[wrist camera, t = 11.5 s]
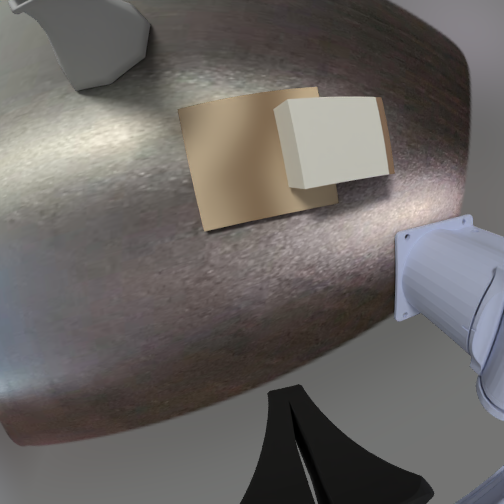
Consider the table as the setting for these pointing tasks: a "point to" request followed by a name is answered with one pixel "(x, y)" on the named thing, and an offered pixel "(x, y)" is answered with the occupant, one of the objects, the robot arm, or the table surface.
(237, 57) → the table surface
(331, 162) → the cream slab
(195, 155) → the cork mat
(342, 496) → the robot arm
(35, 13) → the flask
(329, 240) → the table surface
